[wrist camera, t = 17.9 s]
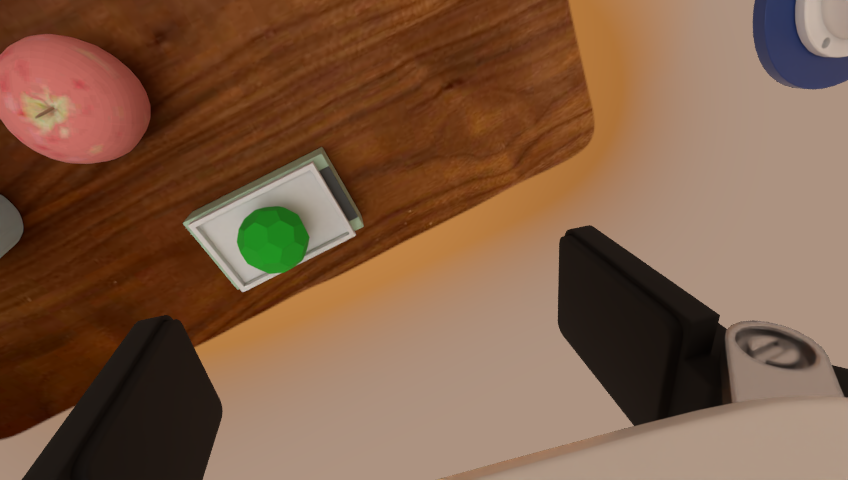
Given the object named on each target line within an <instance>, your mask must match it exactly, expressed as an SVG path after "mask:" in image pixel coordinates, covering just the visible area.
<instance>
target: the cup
mask: <svg viewBox="0 0 848 480" xmlns="http://www.w3.org/2000/svg"><path fill="white" fill-rule="evenodd" d="M22 233H23V222H22V218H21V216H20V213H19V212H18V210H17V209H16V208H15V206H14V205H13V204H12V203H11V202H10V201H9V200H8V199H6V198H5V197H4V196H2V195H0V258H1V257H2V256H3V255H4V254H5V253H6V252H8V251H9V250H10V249H11V248H12V247H13V246H14V245H15V244H17V243H18V241H19V240H20V238H21V235H22Z"/></svg>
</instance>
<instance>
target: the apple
mask: <svg viewBox="0 0 848 480" xmlns="http://www.w3.org/2000/svg"><path fill="white" fill-rule="evenodd" d="M150 118H151V106H150V103H149V99H148V96H147V93H146V91H145V89H144V88H143V86H142V84H141V82H140V81H139V79H138V78H137V77H136V76H135V75H134V74H133V73H132V71H131V70H130V69H129V68H128V67H127V66H125V65H124V64H123V63H122V62H121V61H119V60H118V59H117V58H116V57H114V56H113V55H111V54H110V53H108V52H106V51H105V50H103V49H101V48H99V47H98V46H96V45H93V44H90V43H88V42H85V41H82V40H79V39H76V38H72V37H67V36H61V35H54V34H42V35H32V36H28V37H25V38H23V39H21V40H19V41H17V42H15V43H13V44H11V45H10V46H8V47H7V48H6V49H5V50H4V52H3V53H2V54H1V55H0V119H1V120H2V122H3V123H4V124H5V126H6V127H7V128H8V130H9V131H10V132H11V133H12V134H13V135H15V136H16V137H17V138H18V139H19V140H20V141H21V142H22V143H24V144H25V145H27V146H28V147H30V148H31V149H33V150H34V151H36V152H38V153H40V154H43V155H45V156H47V157H49V158H52V159H55V160H59V161H63V162H67V163H81V164H91V163H98V162H105V161H110V160H114V159H116V158H118V157H121V156H123V155H125V154H127V153H129V152H130V151H131V150H132V149H133V148H134V147H135V146H136V145H137V144H138V143H139V141H140V140H141V138H142V137H143V135H144V133H145V132H146V130H147V127H148V124H149V121H150Z"/></svg>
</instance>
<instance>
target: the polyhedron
mask: <svg viewBox="0 0 848 480" xmlns="http://www.w3.org/2000/svg"><path fill="white" fill-rule="evenodd" d="M309 239H310V237H309V235H308V233H307V231H306V228H305V227H304V225H303V223H302V221H301V219H300V217H299V216H298V214H296V213H294V212H292V211H290V210H288V209H286V208H284V207H280V206H274V207H264V208H260V209H256V210H254V211H253V212H252V213H251V214H249V215H248V216H247V217H246V218H245V219H244V220H243V222H242V224H241V226H240V228H239V230H238V237H237V244H238V247H239V250H240V253H241V255H242V256H243V258H244V259H245V261H246V262H247V264H249V265H251V266H253V267H255V268H257V269H259V270H261V271H264V272H266V273H269V274H275V273H284V272H286V271H288V270H290V269H292V268H293V267H295V266H296V265H297V264H298V263H300V262H301V261H302V260H303V259H304V256H305V254H306V251H307V248H308V243H309Z"/></svg>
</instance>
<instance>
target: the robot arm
mask: <svg viewBox="0 0 848 480" xmlns="http://www.w3.org/2000/svg"><path fill="white" fill-rule="evenodd" d="M795 23H796V28H797V33H798V35H799V38H800V40H801V42H802V44H803V45H804V46H805V47H806V48H807V50H808V51H810V52H812V53H813V54H815V55H817V56H821V57H835V58H840V57H846V56H848V0H796V4H795ZM719 317H720V315H719V314H717V313H716V312H715V311H713V310H712V309H710V308H709V307H707V306H706V305H704V304H703V303H702V302H700V301H699V300H697V299H696V298H694V297H693V296H692V295H690V294H688V293H687V292H686V291H684V290H683V289H682V288H680V287H678V286H677V285H676V284H674V283H673V282H672V281H670V280H669V279H667V278H666V277H664V276H663V275H662V274H660V273H659V272H657V271H656V270H654V269H652V268H651V267H650V266H649V265H647V264H646V263H644V262H643V261H641V260H640V259H639V258H637V257H636V256H634V255H633V254H631V253H630V252H628V251H627V250H626V249H624V248H623V247H621V246H620V245H619V244H617V243H616V242H614V241H613V240H611V239H610V238H608V237H607V236H606V235H604V234H603V233H601V232H600V231H598V230H597V229H596V228H594V227H593V226H590V225H589V226H584V227H579V228H574V229H570V230H567V231H566V234H565V236H564V237H561V239H560V243H559V290H558V325H559V328H560V331H561V333H562V334H563V336H564V337H565V339H566V340H567V341H568V342H569V344H570V345H571V346H572V347H573V349H574V350H575V351H576V353H577V354H578V355H579V356H580V358H581V359H582V360H583V361H584V363H585V364H586V365H587V366H588V368H589V369H590V370H591V371H592V373H593V374H594V375H595V377H596V378H597V379H598V380H599V382H600V383H601V384H602V386H603V387H604V388H605V389H606V391H607V392H608V393H609V394H610V396H611V397H612V398H613V399H614V400H615V402H616V403H617V405H618V406H619V407H620V408H621V410H622V411H623V412H624V413H625V414H626V416H627V417H628V418H629V420H630V421H631V422H632V424H633V425H634V426H633V427H629V428H625V429H621V430H618V431H614V432H610V433H607V434H603V435H600V436H595V437H592V438H588V439H585V440H581V441H577V442H573V443H570V444H566V445H562V446H558V447H555V448H551V449H548V450H544V451H540V452H536V453H533V454H529V455H525V456H521V457H518V458H514V459H511V460H507V461H503V462H499V463H496V464H492V465H488V466H485V467H481V468H477V469H474V470H471V471H467V472H463V473H460V474H456V475H452V476H449V477H445V478H441V479H438V480H848V369H845V368H842V367H837V366H833V365H831V362H830V360H829V357H828V355H827V354H826V352H825V351H824V350H823V348H822V347H821V346H820V345H819V344H817V343H816V342H815V341H814V340H812V339H811V338H809V337H807V336H805V335H804V334H802V333H800V332H798V331H796V330H793V329H790V328H788V327H785V326H782V325H778V324H774V323H769V322H761V321H743V322H739V323H736V324H733V325H731V326H730V327H729V328H728V329H726V328H725V327H723V326H722V325H720V324H719V323H718V321H719ZM221 418H222V405H221V401H220V399H219V397H218V395H217V393H216V391H215V389H214V387H213V385H212V383H211V381H210V379H209V377H208V375H207V373H206V371H205V369H204V367H203V365H202V363H201V361H200V359H199V357H198V355H197V353H196V351H195V349H194V347H193V345H192V343H191V341H190V339H189V337H188V335H187V333H186V331H185V329H184V327H183V325H182V323H181V322H180V321H179V320H177V319H175V320H173V319H172V318H171V317H170V316H167V315H164V316H159V317H155V318H150V319H145V320H141V321H138V322H137V323H136V324H135V325H134V326H133V328H132V329H131V330H130V332H129V333H128V334H127V336H126V337H125V339H124V340H123V341H122V343H121V344H120V345H119V347H118V348H117V350H116V351H115V352H114V354H113V355H112V356H111V358H110V359H109V361H108V362H107V363H106V365H105V366H104V367H103V369H102V370H101V372H100V373H99V374H98V376H97V377H96V378H95V380H94V381H93V383H92V384H91V385H90V387H89V388H88V389H87V391H86V392H85V394H84V395H83V396H82V398H81V399H80V400H79V402H78V403H77V405H76V406H75V407H74V409H73V410H72V411H71V413H70V414H69V416H68V417H67V418H66V420H65V421H64V423H63V424H62V425H61V426H60V428H59V429H58V431H57V432H56V433H55V435H54V436H53V437H52V439H51V440H50V442H49V443H48V444H47V446H46V447H45V448H44V450H43V451H42V453H41V454H40V455H39V457H38V458H37V459H36V461H35V462H34V464H33V465H32V466H31V468H30V469H29V471H28V472H27V473H26V475H25V476H24V478H23V479H22V480H203V476H204V473H205V470H206V467H207V463H208V460H209V457H210V454H211V450H212V447H213V444H214V441H215V437H216V434H217V431H218V428H219V425H220V421H221Z"/></svg>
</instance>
